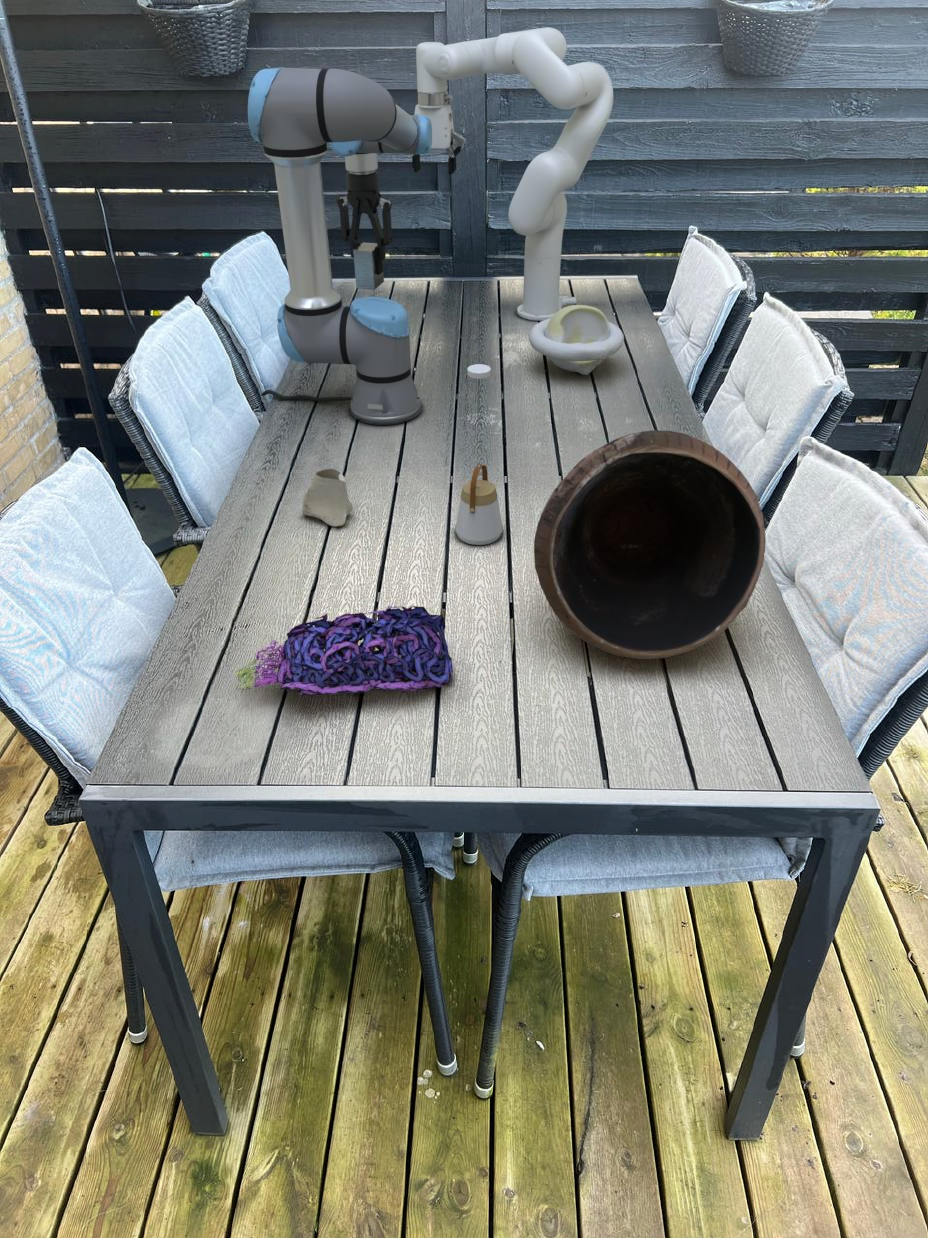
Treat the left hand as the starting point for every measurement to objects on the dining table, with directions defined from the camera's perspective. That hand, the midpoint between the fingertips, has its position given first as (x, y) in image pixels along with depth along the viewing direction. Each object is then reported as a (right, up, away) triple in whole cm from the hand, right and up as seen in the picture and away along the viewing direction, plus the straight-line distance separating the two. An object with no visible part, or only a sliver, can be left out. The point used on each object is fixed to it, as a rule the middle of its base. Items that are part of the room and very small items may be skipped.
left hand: (369, 271), depth 232 cm
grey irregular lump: (-1, -69, -65) cm, 95 cm away
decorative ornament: (+7, -96, -101) cm, 139 cm away
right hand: (+16, +32, +15) cm, 39 cm away
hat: (+50, -28, -12) cm, 58 cm away
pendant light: (+26, -72, -69) cm, 103 cm away
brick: (0, -3, +2) cm, 3 cm away
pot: (+50, -85, -87) cm, 132 cm away
